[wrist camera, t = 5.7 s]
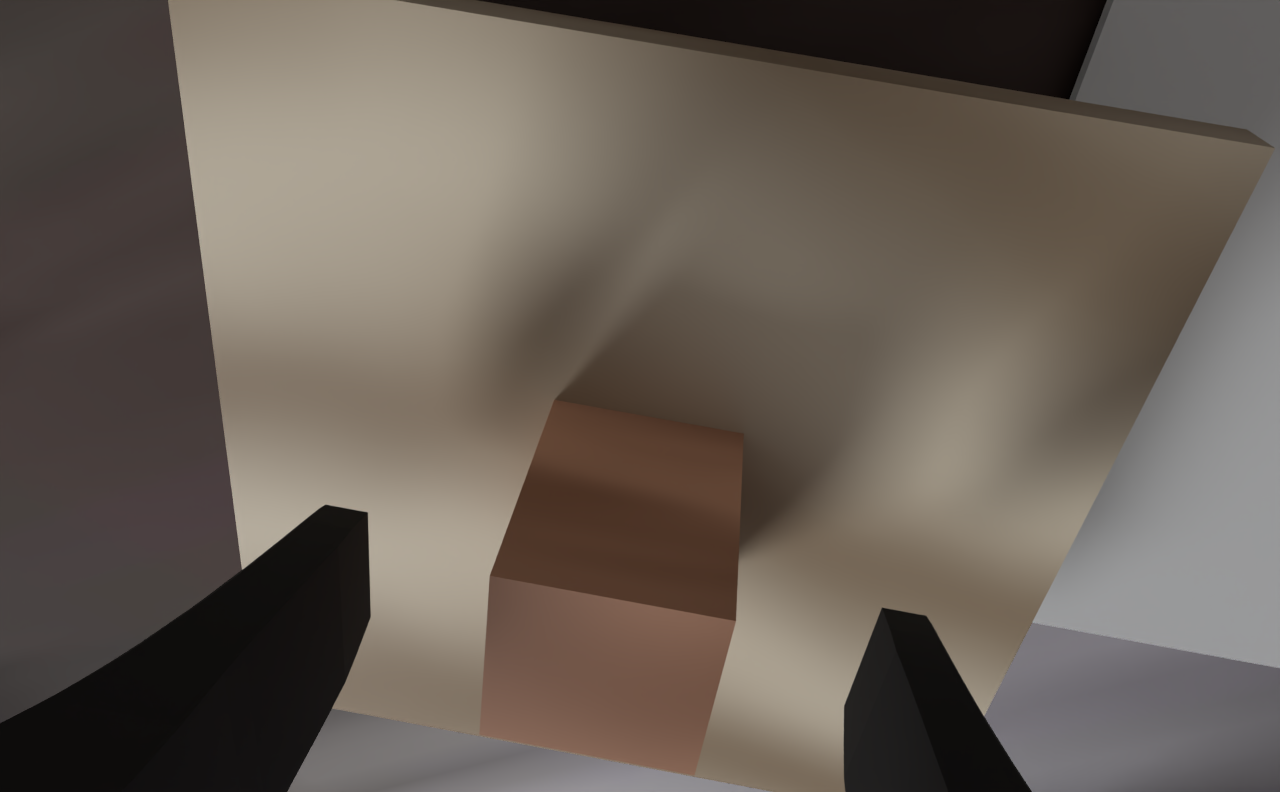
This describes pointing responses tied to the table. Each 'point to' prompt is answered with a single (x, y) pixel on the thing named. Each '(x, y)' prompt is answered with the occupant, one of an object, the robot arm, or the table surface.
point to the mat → (1195, 368)
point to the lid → (673, 355)
